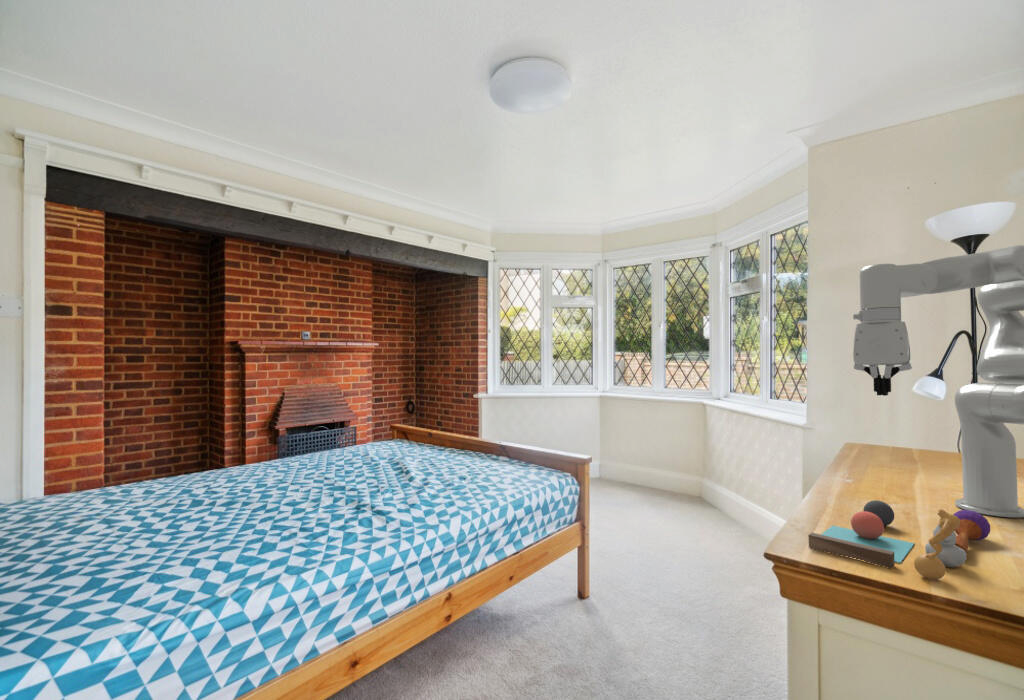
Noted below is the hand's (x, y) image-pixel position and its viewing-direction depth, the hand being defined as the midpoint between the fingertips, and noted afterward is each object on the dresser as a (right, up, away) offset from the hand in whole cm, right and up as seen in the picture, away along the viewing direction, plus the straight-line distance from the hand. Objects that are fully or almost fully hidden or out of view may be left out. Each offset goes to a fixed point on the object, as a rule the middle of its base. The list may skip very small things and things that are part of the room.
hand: (882, 395), depth 110 cm
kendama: (+3, -29, -17) cm, 34 cm away
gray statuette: (-8, -29, -25) cm, 39 cm away
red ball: (-13, -26, -12) cm, 31 cm away
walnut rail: (-23, -28, -22) cm, 43 cm away
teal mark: (-16, -29, -15) cm, 36 cm away
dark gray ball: (-4, -26, -4) cm, 27 cm away
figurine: (-16, -28, -32) cm, 45 cm away
